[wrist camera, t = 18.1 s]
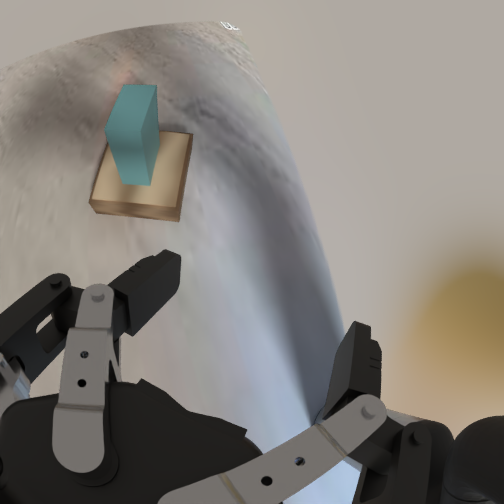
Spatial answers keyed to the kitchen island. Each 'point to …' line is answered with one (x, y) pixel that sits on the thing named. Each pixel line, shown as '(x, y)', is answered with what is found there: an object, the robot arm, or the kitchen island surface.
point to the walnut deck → (146, 197)
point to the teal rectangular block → (134, 133)
